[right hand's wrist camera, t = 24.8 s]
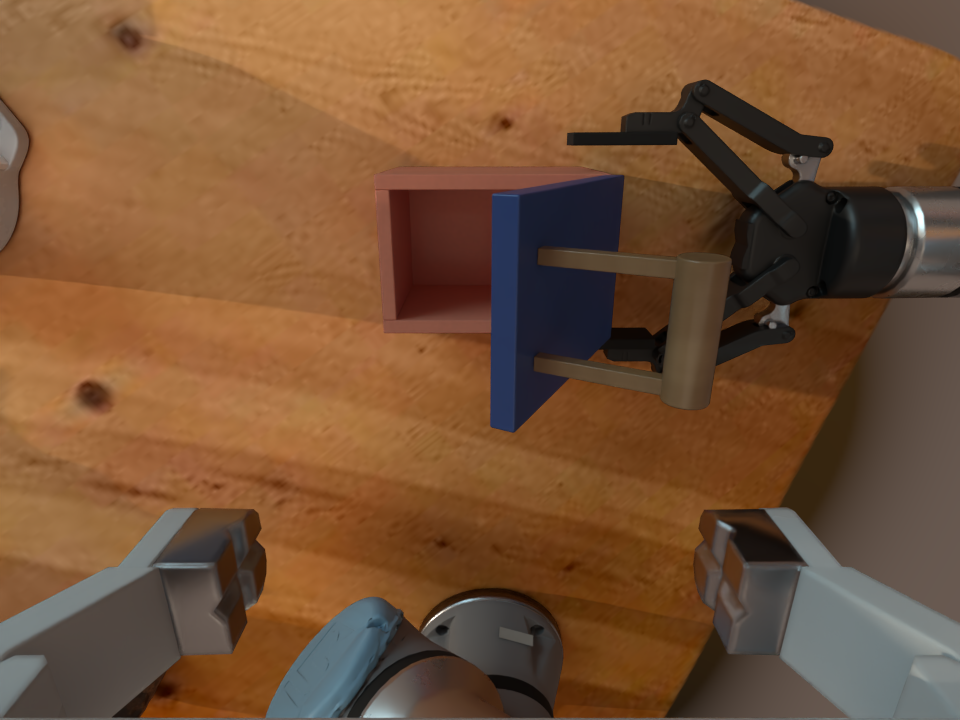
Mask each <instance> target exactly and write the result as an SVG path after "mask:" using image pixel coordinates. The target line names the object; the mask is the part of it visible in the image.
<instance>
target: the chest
mask: <svg viewBox="0 0 960 720" xmlns="http://www.w3.org/2000/svg"><path fill="white" fill-rule="evenodd" d="M602 175H612V174H608V173H604V172H600V171H596V170H592V169H588V168H584V167H397V168H394V169H390V170H387V171H384V172H381V173H378V174H375V175H374V183H375V197H376V213H377V229H378V245H379V261H380V277H381V292H382V308H383V319H384V320H383V325H384V333H491V266H492V194H494V193H499V192H505V191H511V190H517V189H523V188H529V187H535V186H541V185H547V184H553V183H559V182H565V181H571V180H577V179H583V178H590V177H596V176H602Z"/></svg>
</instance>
